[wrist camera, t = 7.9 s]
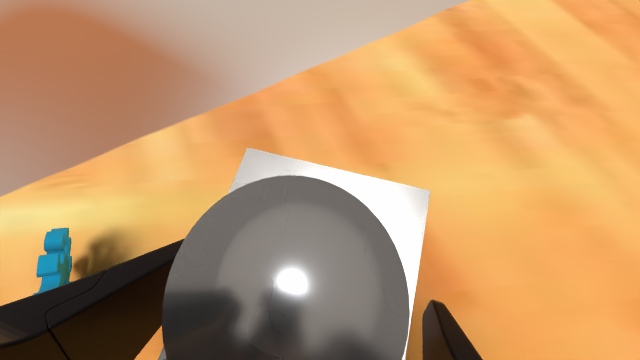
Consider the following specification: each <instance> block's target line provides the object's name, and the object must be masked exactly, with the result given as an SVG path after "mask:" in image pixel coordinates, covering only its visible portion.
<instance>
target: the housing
mask: <svg viewBox="0 0 640 360" xmlns="http://www.w3.org/2000/svg"><path fill="white" fill-rule="evenodd" d="M429 196H430V190H425V189H421V188H417V187H413V186H408V185H404V184H400V183H396V182H391V181H387V180H383V179H379V178H374V177H370V176H366V175H362V174H357V173H353V172H349V171H345V170H340V169H336V168H332V167H328V166H323V165H319V164H315V163H311V162H306V161H302V160H298V159H294V158H289V157H285V156H281V155H277V154H272V153H268V152H264V151H260V150H255V149H251V148H247V150H246V152H245V155H244V157H243V160H242V162H241V164H240V167H239V169H238V171H237V174H236V176H235V179H234V181H233V183H232V186H231V188H230V190H229V193H228V195H226V196H224V197H223V198H222V199H220V200H219V201H218V202H217V203H215V204H214V205H213V206H212V207H211V208H210V209H209V210H208V211H207V212H206V213H205V214H204V215H202V217H201V218H200V219H199V220H198V221H197V223H196V224H195V225H194V226H193V227H192V229H191V230H190V232H189V233H188V235H187V236H186V238H185V240H184V241H183V243H182V245H181V247H180V249H179V251H178V253H177V255H176V257H175V259H174V262H173V265H172V267H171V270H170V273H169V276H168V280H167V284H166V287H165V294H164V300H163V309H162V333H163V343H164V347H163V349H162V352H161V354H160V356H159V359H158V360H405V355H406V349H407V342H408V335H409V329H410V322H411V316H412V309H413V302H414V296H415V289H416V282H417V276H418V269H419V262H420V256H421V249H422V242H423V236H424V229H425V223H426V216H427V209H428V203H429Z"/></svg>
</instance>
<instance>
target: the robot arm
mask: <svg viewBox="0 0 640 360" xmlns="http://www.w3.org/2000/svg"><path fill="white" fill-rule="evenodd" d="M184 240H185V239H182V240H180V241H177V242H175V243H172V244H169V245H167V246H164V247H162V248H159V249H157V250H154V251H151V252H149V253H146V254H144V255H141V256H139V257H136V258H134V259H131V260H128V261H126V262H123V263H121V264H118V265H116V266H113V267H110V268H108V269H105V270H103V271H100V272H97V273H95V274H92V275H90V276H87V277H84V278H82V279H79V280H76V281H74V282H71V283H68V284H65V285H62V286H59V287H56V288H53V289H50V290H47V291H44V292H41V293H38V294H35V295H32V296H29V297H26V298H23V299H20V300H17V301H14V302H11V303H8V304H5V305H2V306H0V360H134V359H135V358H136V356H137V355H138V354H139V353H140V351H141V350H142V349H143V348H144V346H145V345H146V344H147V343H148V341H149V340H150V339H151V338H152V336H153V335H154V334H155V333H156V331H157V330H158V329H159V328H160V327H161V325H162V309H163V300H164V294H165V287H166V284H167V280H168V276H169V273H170V270H171V267H172V265H173V262H174V259H175V257H176V255H177V253H178V251H179V249H180V247H181V245H182V243H183V241H184ZM422 333H423V360H483V359H482V358H481V356H480V355H479V354H478V352H477V351H476V349H475V348H474V346H473V345H472V343H471V342H470V341H469V339H468V338H467V336H466V335H465V333H464V332H463V330H462V329H461V328H460V326H459V325H458V323H457V322H456V320H455V319H454V317H453V316H452V315H451V313H450V312H449V310H448V309H447V307H446V306H445V305H444V304H443V303H442V302H439V301H435V300H431V301H430V302H429V304H428V306H427V307H426V309H425V311H424V313H423V318H422Z"/></svg>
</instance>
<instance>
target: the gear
mask: <svg viewBox="0 0 640 360" xmlns="http://www.w3.org/2000/svg"><path fill="white" fill-rule="evenodd" d="M44 250H45V251H46V252H47V255H41V256H39V259H38V265H37V277H42V283H41V287H40V290H39V292H38V293H41V292H44V291H47V290H50V289H53V288H56V287H59V286H62V285H65V284H68V283H71V282H69V277H70V272H71V268H72V257H71V256H70V250H71V237H69V228H59V229H52V230H51V232H47V233H46V236H45V240H44ZM38 293H34V295H35V294H38Z"/></svg>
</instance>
